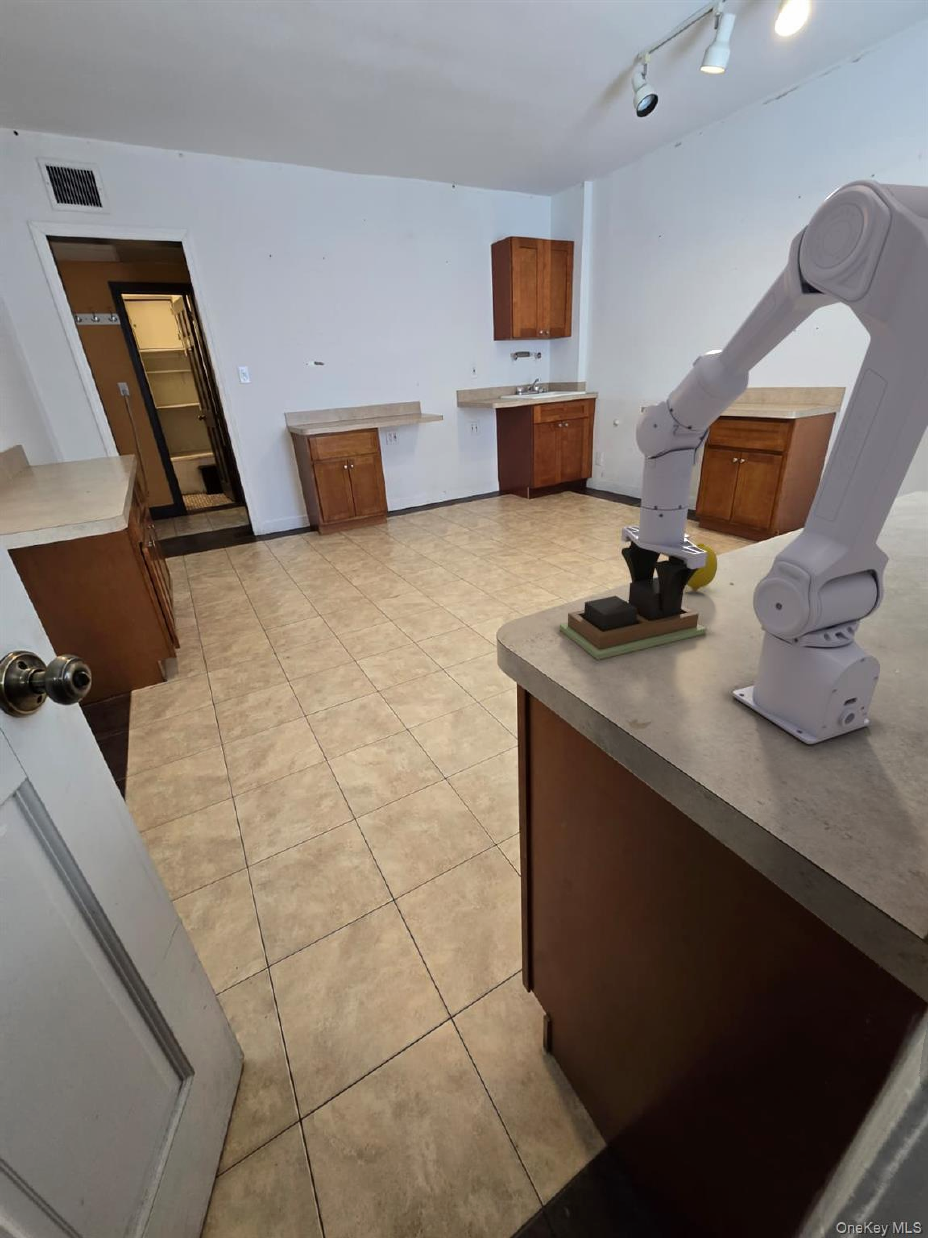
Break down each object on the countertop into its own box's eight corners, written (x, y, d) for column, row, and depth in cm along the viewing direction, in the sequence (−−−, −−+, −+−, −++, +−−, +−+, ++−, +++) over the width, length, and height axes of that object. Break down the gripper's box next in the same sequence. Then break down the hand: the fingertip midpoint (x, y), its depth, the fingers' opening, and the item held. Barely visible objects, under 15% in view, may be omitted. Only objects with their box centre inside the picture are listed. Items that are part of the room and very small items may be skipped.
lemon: (717, 596, 81) (724, 548, 77) (679, 596, 82) (685, 548, 79) (709, 584, 86) (716, 537, 82) (674, 583, 87) (679, 538, 83)
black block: (680, 614, 70) (684, 587, 69) (650, 621, 69) (652, 594, 67) (657, 602, 75) (659, 576, 73) (627, 608, 73) (629, 582, 72)
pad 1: (635, 635, 69) (637, 608, 67) (603, 642, 68) (604, 615, 66) (614, 621, 73) (615, 595, 72) (583, 628, 72) (584, 601, 70)
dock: (706, 633, 70) (708, 614, 69) (597, 660, 65) (598, 640, 64) (658, 607, 79) (659, 590, 77) (559, 629, 74) (559, 611, 73)
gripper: (733, 511, 60) (717, 616, 66) (653, 492, 73) (645, 581, 79) (683, 520, 59) (671, 627, 64) (611, 498, 71) (606, 589, 77)
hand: (654, 602), depth 71 cm, fingers closed on black block, 5 cm apart
